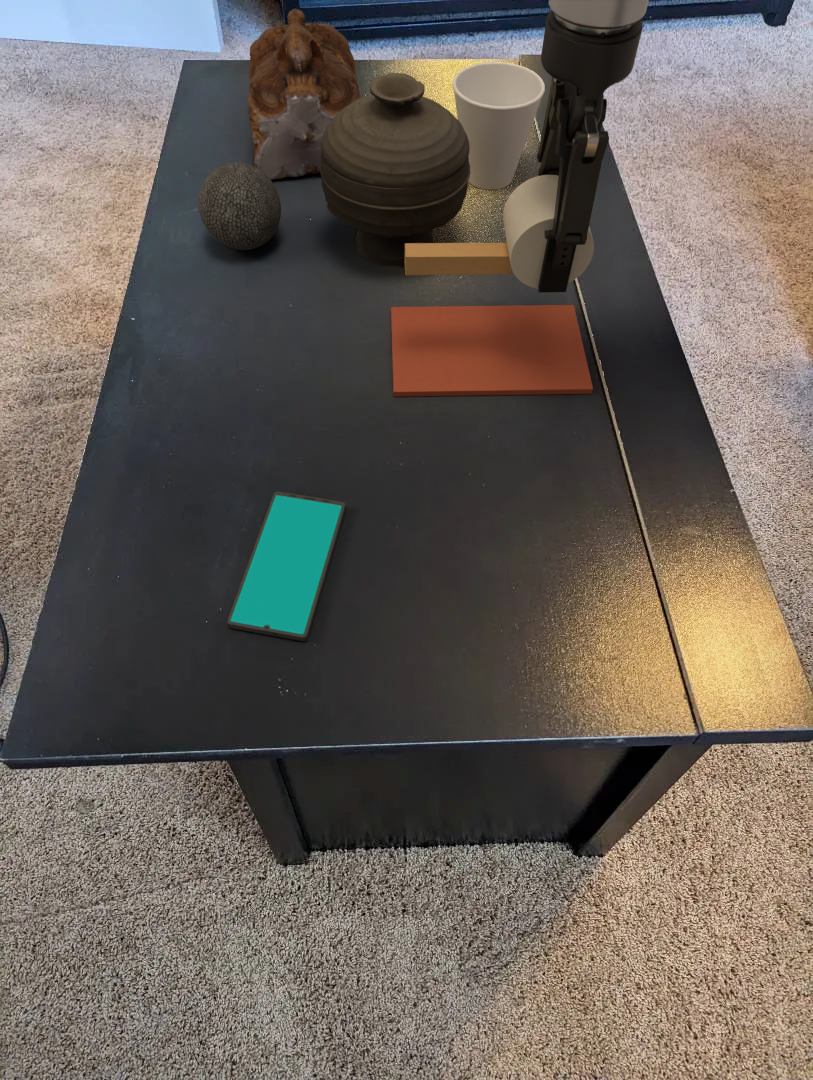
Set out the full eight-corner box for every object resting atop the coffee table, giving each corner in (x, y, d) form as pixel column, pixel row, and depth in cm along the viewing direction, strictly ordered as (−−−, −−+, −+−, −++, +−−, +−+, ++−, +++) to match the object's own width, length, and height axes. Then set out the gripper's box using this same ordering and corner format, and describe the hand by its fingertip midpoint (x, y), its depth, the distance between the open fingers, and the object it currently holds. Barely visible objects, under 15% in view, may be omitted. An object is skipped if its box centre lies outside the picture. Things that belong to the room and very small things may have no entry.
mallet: (406, 290, 76) (407, 218, 69) (403, 247, 80) (404, 174, 73) (584, 289, 77) (602, 217, 70) (573, 246, 80) (590, 174, 74)
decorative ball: (298, 229, 100) (289, 155, 92) (263, 274, 95) (250, 200, 87) (231, 212, 102) (216, 138, 94) (193, 255, 97) (174, 181, 89)
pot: (494, 223, 100) (502, 65, 83) (421, 307, 93) (412, 154, 76) (383, 182, 106) (368, 26, 89) (305, 258, 99) (273, 105, 82)
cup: (429, 176, 107) (433, 84, 97) (482, 143, 112) (491, 52, 102) (495, 211, 103) (506, 118, 93) (547, 174, 108) (563, 82, 97)
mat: (572, 309, 92) (573, 304, 91) (591, 394, 84) (593, 388, 84) (390, 312, 91) (390, 306, 91) (393, 397, 84) (393, 391, 83)
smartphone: (345, 502, 74) (305, 637, 66) (346, 507, 75) (306, 642, 67) (273, 490, 75) (224, 623, 67) (274, 495, 76) (226, 627, 68)
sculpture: (219, 166, 102) (222, 90, 113) (336, 227, 112) (328, 152, 123) (285, 34, 90) (281, -36, 101) (409, 116, 100) (393, 44, 111)
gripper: (672, 77, 54) (599, 331, 73) (619, -40, 65) (568, 207, 84) (567, 78, 53) (521, 332, 73) (532, -40, 64) (500, 208, 84)
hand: (546, 265), depth 78 cm, fingers closed on mallet, 7 cm apart
